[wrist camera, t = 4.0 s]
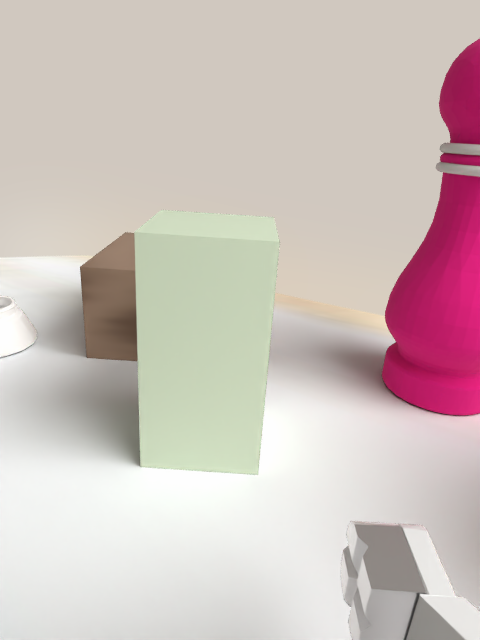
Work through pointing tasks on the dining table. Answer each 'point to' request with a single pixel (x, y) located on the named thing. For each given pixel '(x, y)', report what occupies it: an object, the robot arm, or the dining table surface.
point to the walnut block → (111, 301)
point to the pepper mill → (444, 269)
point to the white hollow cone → (14, 328)
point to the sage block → (204, 338)
